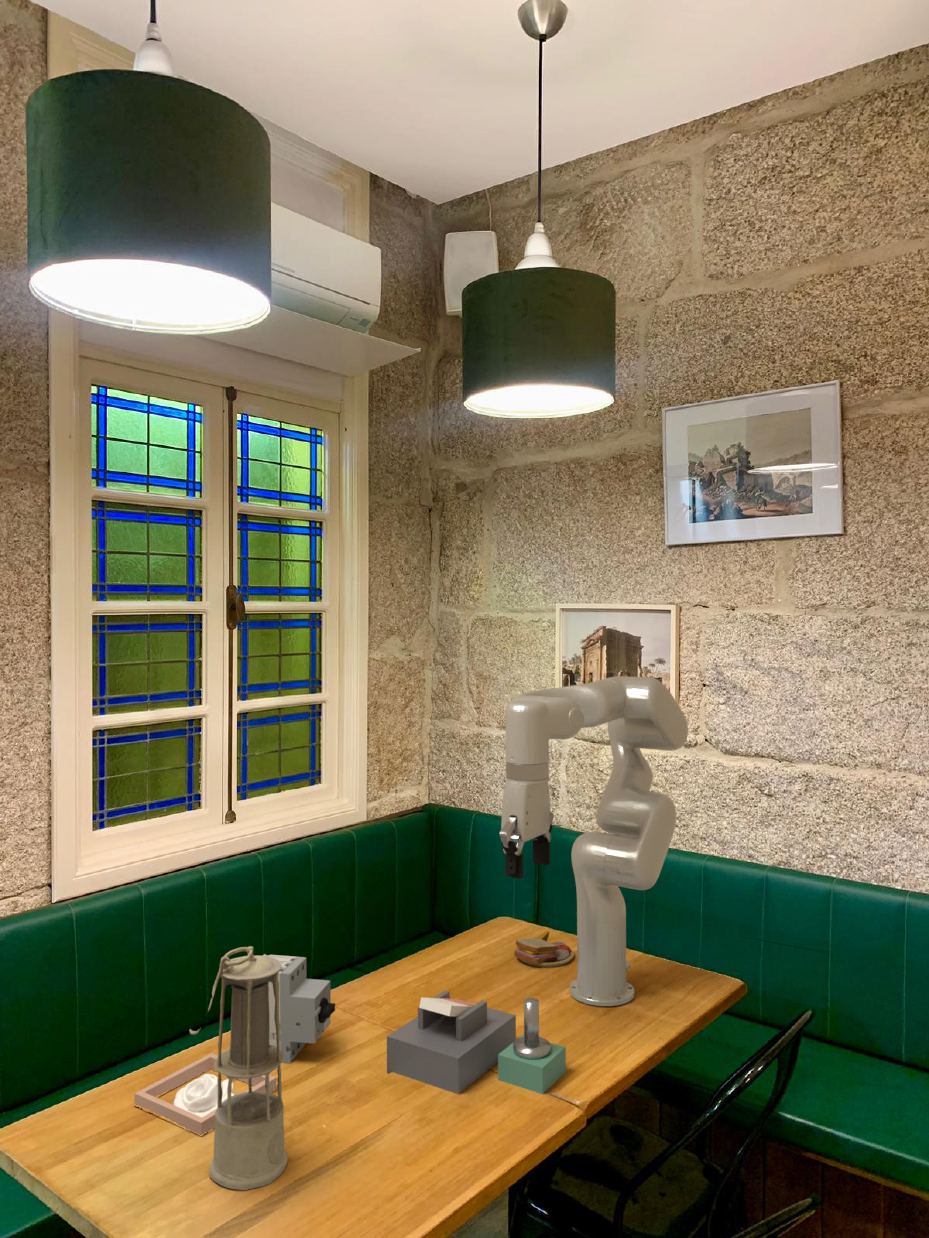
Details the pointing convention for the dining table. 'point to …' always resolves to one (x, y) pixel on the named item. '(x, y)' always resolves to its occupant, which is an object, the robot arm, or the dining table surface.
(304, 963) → the circuit breaker
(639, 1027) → the dining table surface
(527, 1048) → the metal knob
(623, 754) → the robot arm
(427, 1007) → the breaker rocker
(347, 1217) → the dining table surface
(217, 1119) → the lamp
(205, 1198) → the dining table surface
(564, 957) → the toy sandwich meal
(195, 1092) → the rose
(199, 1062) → the pink square frame
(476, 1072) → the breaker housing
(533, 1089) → the stylus holder
